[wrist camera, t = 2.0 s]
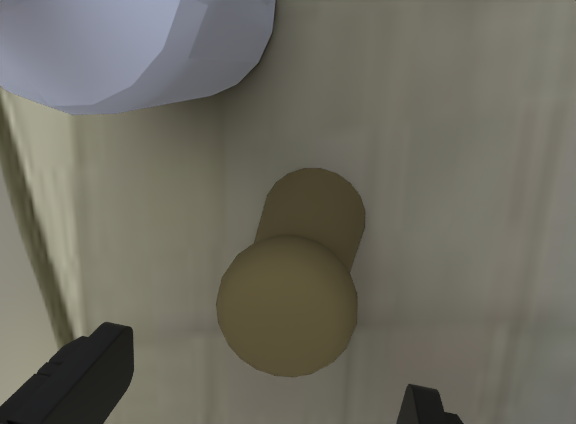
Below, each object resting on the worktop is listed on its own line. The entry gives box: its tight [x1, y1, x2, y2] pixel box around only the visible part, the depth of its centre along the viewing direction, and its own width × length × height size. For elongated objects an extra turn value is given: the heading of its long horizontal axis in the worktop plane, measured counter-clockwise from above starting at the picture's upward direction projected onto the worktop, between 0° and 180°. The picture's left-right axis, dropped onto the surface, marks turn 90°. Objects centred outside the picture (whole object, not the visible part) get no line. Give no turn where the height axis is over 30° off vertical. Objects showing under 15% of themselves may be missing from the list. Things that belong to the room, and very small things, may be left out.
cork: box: [216, 168, 365, 377], centre depth 18 cm, size 6×6×11 cm
